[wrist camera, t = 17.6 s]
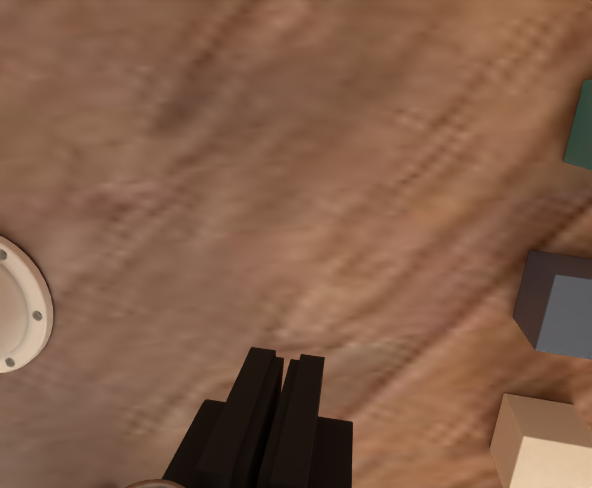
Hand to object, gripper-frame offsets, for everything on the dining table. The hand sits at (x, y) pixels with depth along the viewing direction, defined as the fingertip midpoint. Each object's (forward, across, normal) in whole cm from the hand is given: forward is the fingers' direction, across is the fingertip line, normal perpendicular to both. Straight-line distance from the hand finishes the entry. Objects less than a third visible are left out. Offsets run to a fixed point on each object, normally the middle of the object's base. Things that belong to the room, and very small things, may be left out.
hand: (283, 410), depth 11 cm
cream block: (+24, -16, +15) cm, 33 cm away
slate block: (+24, -16, +4) cm, 29 cm away
